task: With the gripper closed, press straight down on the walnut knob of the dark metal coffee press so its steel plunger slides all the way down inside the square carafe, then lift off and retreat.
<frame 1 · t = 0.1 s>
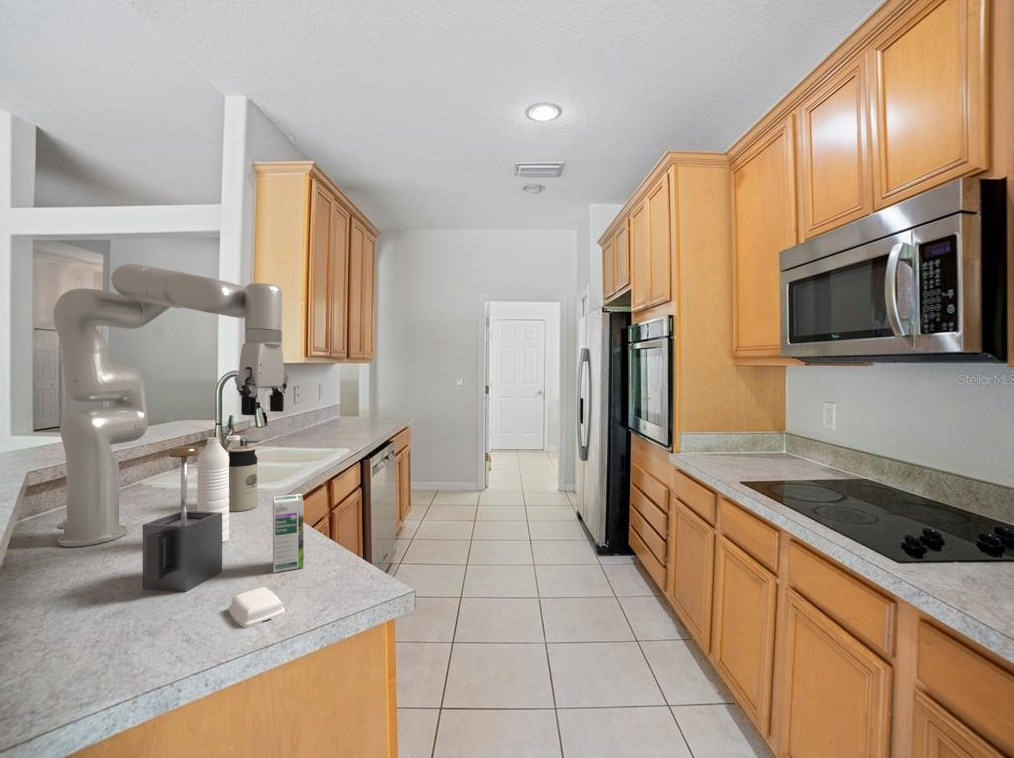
hand: (263, 413, 106), 31 cm above the counter, tool pointing down, fingers open, 9 cm apart
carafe: (184, 579, 90), on the counter
plunger: (184, 487, 90), point 18 cm above the counter, slide at 0.0 cm
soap: (256, 614, 78), on the counter
water bottle: (218, 541, 111), on the counter
travel mug: (242, 508, 138), on the counter
syrup box: (287, 566, 97), on the counter
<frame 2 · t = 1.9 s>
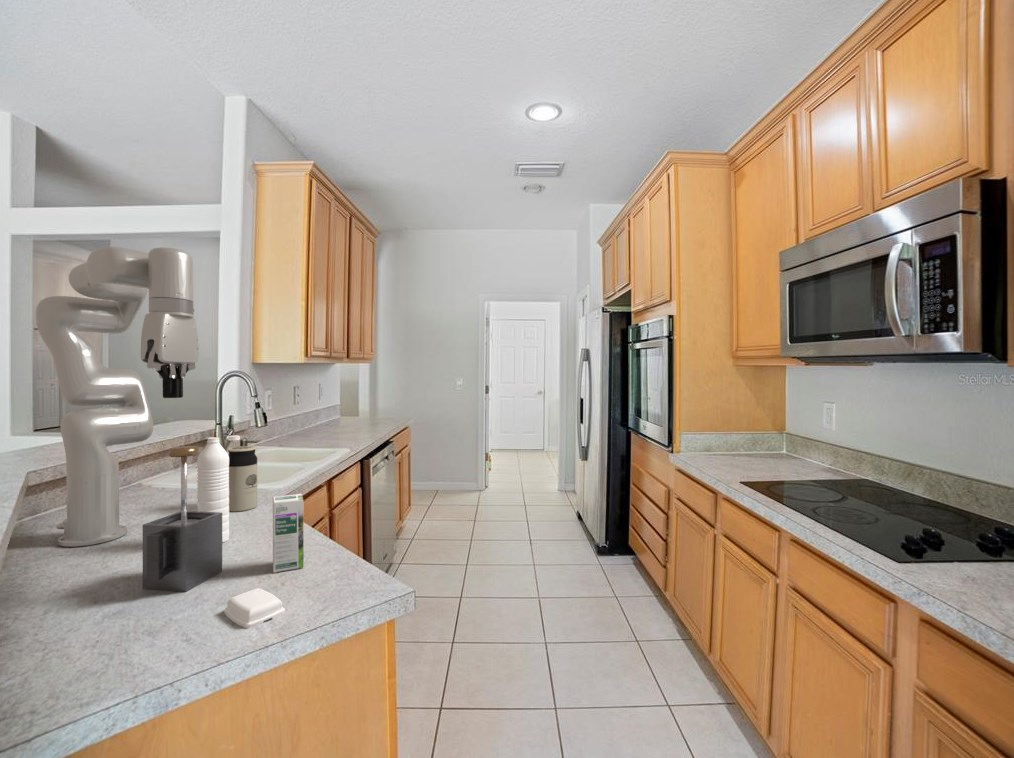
hand: (172, 397, 96), 35 cm above the counter, tool pointing down, fingers closed
nothing on the counter moved.
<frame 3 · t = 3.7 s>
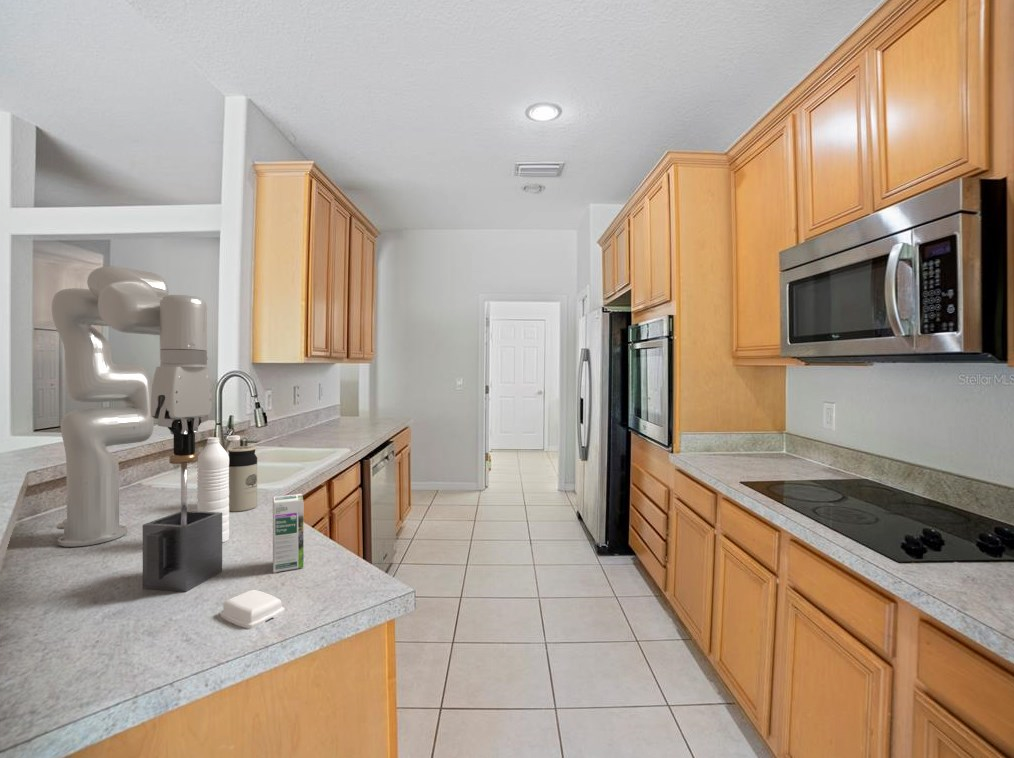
hand: (184, 454, 90), 25 cm above the counter, tool pointing down, fingers closed
plunger: (184, 494, 90), point 17 cm above the counter, slide at 1.3 cm, touching gripper
everything else where it was.
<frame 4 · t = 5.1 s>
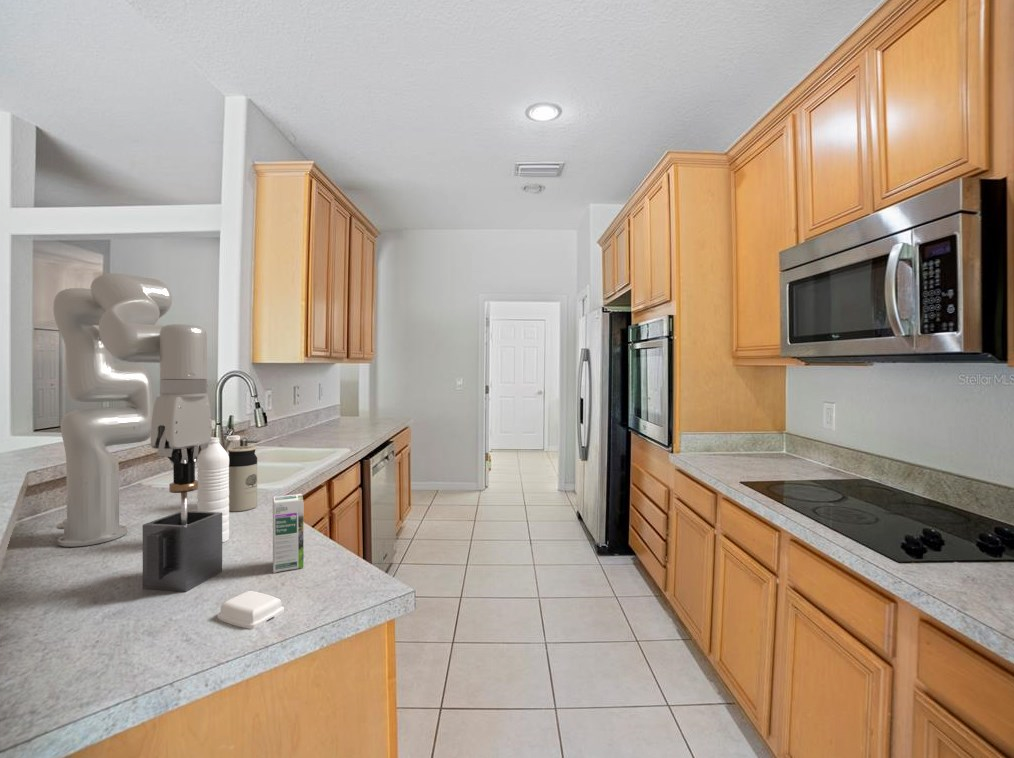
hand: (184, 482, 90), 19 cm above the counter, tool pointing down, fingers closed
plunger: (184, 522, 90), point 11 cm above the counter, slide at 6.8 cm, touching gripper
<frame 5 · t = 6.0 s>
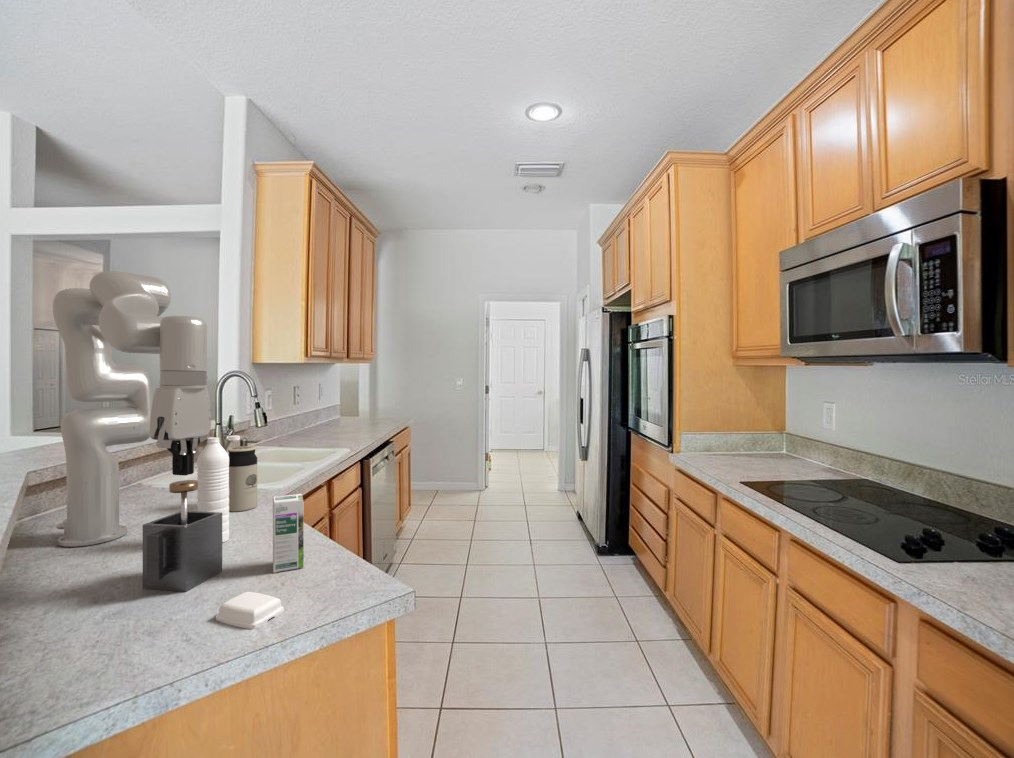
hand: (183, 474, 90), 21 cm above the counter, tool pointing down, fingers closed
plunger: (184, 522, 90), point 11 cm above the counter, slide at 6.8 cm
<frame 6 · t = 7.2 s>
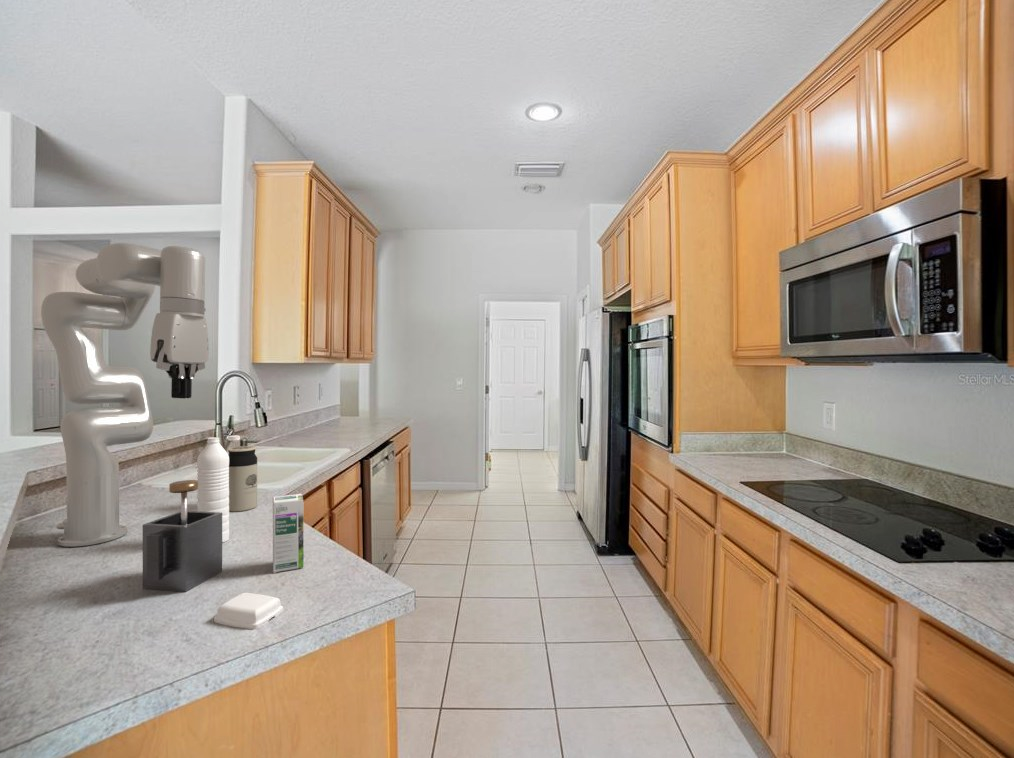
hand: (181, 397, 96), 35 cm above the counter, tool pointing down, fingers closed
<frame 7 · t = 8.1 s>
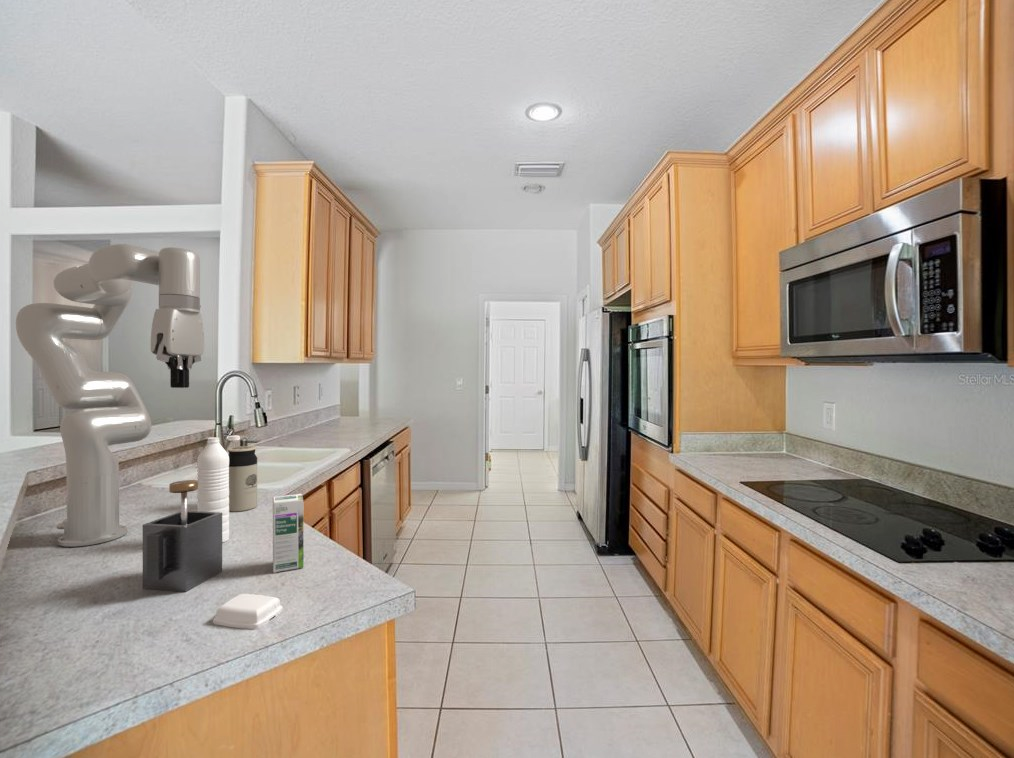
hand: (179, 387, 103), 37 cm above the counter, tool pointing down, fingers closed
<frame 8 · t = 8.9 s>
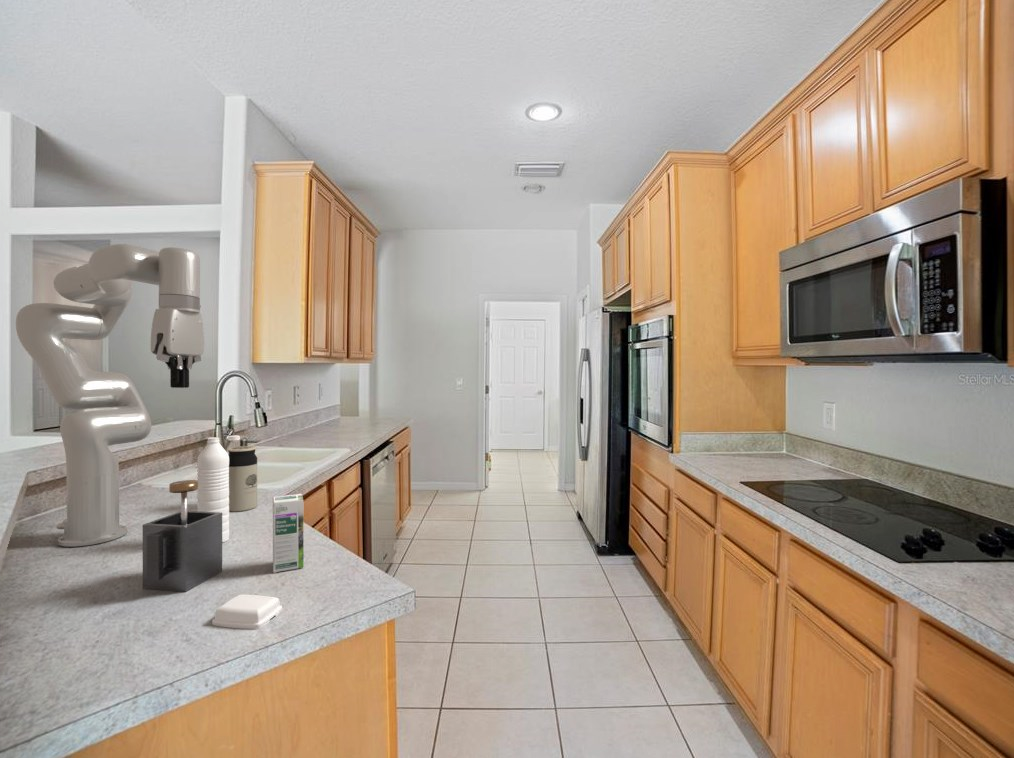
hand: (179, 387, 103), 37 cm above the counter, tool pointing down, fingers closed
at the end: plunger slide at 6.8 cm; the gripper is holding nothing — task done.
